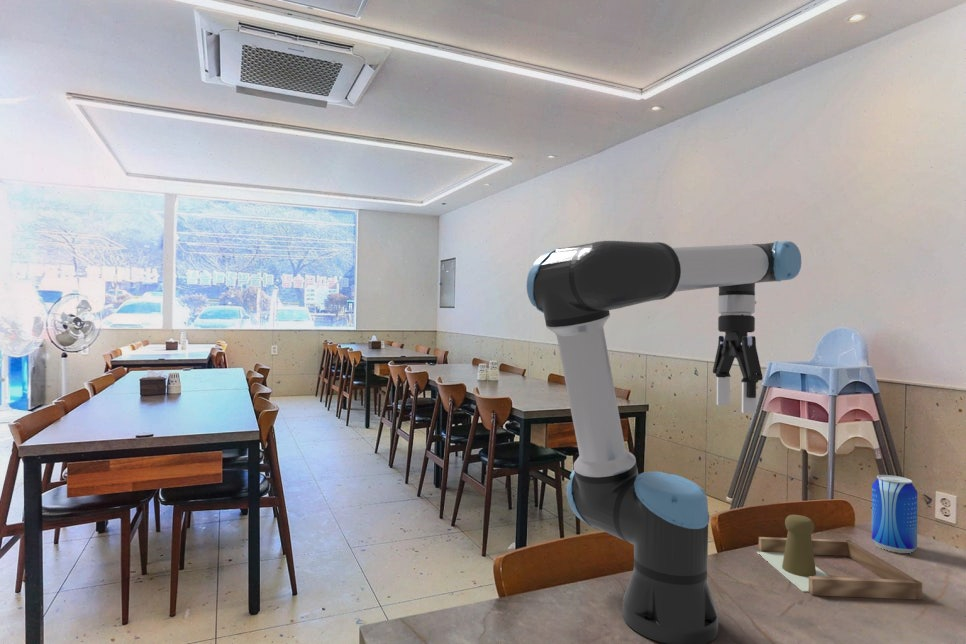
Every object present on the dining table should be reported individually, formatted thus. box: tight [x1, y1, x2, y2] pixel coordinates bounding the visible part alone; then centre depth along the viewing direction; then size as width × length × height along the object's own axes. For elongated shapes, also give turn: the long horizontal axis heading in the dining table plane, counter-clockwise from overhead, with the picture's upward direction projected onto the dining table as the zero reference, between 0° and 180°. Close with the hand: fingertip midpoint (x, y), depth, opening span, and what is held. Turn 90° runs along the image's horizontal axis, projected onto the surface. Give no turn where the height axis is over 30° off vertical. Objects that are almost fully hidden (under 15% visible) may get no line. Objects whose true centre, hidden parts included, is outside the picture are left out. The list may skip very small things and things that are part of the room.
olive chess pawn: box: [782, 514, 816, 577], centre depth 111 cm, size 6×6×11 cm
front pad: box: [756, 551, 831, 593], centre depth 111 cm, size 9×18×1 cm, turn 178°
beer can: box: [871, 474, 918, 554], centre depth 125 cm, size 8×8×16 cm
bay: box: [758, 536, 923, 601], centre depth 111 cm, size 20×21×3 cm
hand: (735, 408), depth 122 cm, fingers open, 13 cm apart
